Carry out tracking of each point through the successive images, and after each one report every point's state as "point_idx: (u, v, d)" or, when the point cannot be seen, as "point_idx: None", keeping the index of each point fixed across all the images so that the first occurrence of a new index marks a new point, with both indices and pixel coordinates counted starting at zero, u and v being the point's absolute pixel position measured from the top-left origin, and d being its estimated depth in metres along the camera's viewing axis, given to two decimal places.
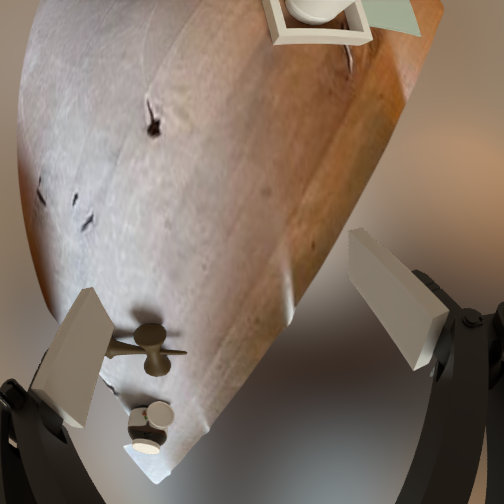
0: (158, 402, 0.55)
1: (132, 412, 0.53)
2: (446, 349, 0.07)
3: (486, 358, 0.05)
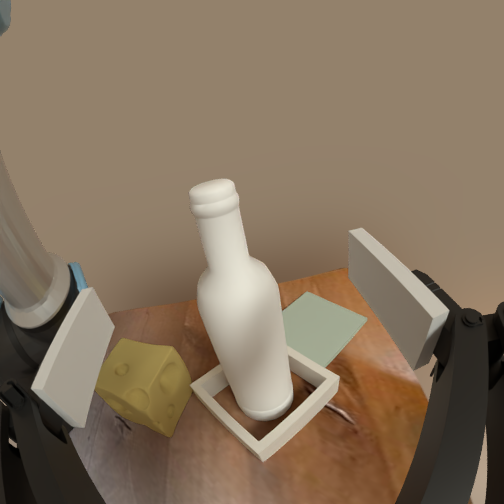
0: None
1: None
2: (446, 349, 0.07)
3: (486, 358, 0.05)
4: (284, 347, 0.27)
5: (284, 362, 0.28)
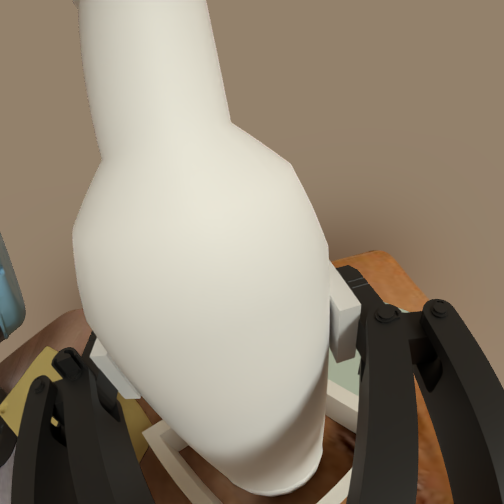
0: None
1: None
2: (365, 348, 0.08)
3: (408, 352, 0.06)
4: (325, 393, 0.10)
5: (320, 422, 0.11)
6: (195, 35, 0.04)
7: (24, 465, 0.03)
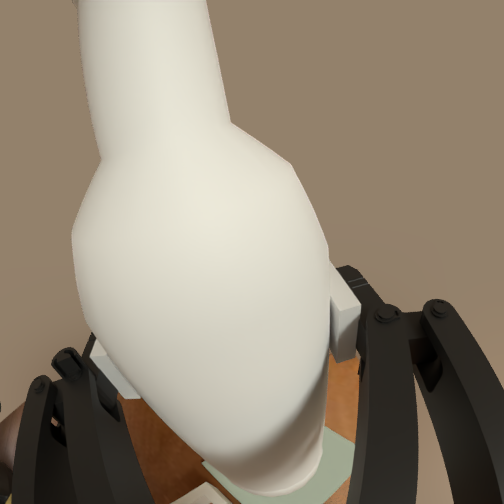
0: None
1: None
2: (365, 348, 0.08)
3: (408, 352, 0.06)
4: (325, 394, 0.10)
5: (320, 423, 0.10)
6: (195, 35, 0.04)
7: (24, 465, 0.03)
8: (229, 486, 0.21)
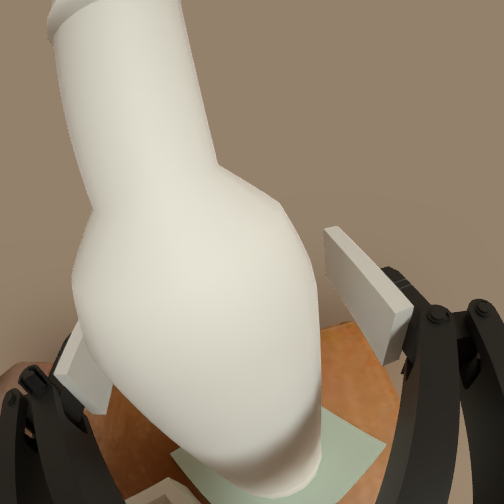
0: None
1: None
2: (414, 347, 0.07)
3: (455, 354, 0.05)
4: (318, 409, 0.10)
5: (316, 434, 0.11)
6: (174, 79, 0.05)
7: (5, 473, 0.03)
8: (202, 486, 0.16)
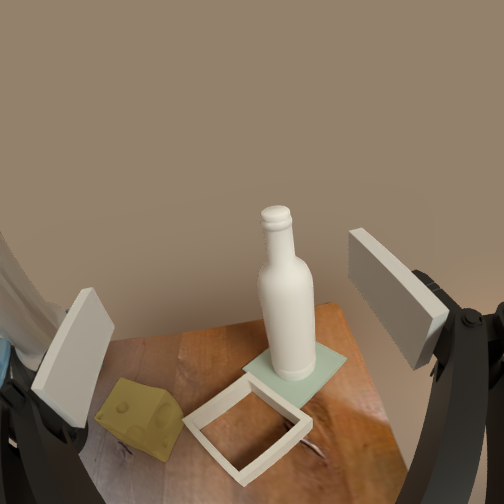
0: None
1: None
2: (446, 349, 0.07)
3: (486, 358, 0.05)
4: (313, 318, 0.39)
5: (313, 330, 0.40)
6: (292, 245, 0.34)
7: None
8: (260, 380, 0.45)
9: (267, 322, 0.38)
